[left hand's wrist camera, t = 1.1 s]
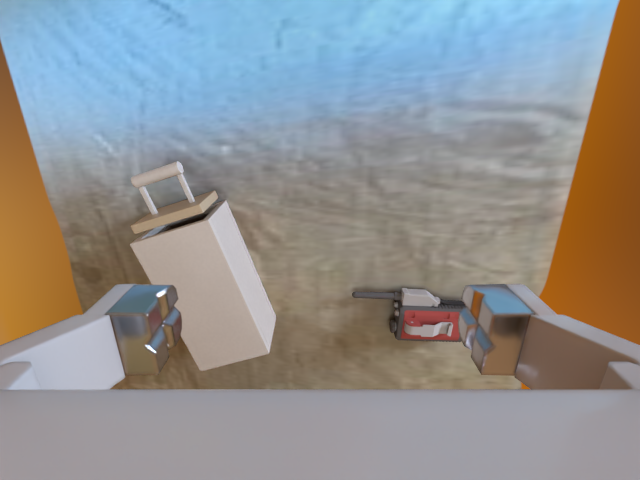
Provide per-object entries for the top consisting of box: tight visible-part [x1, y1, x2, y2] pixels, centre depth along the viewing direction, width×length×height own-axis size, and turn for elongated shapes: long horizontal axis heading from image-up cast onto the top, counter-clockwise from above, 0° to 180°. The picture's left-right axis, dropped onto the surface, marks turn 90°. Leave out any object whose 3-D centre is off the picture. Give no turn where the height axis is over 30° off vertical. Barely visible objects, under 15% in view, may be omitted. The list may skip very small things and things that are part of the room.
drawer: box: [131, 161, 218, 234], centre depth 50 cm, size 26×10×7 cm, turn 17°
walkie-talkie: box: [352, 288, 466, 342], centre depth 57 cm, size 9×4×20 cm
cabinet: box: [130, 200, 276, 371], centre depth 52 cm, size 22×11×9 cm, turn 17°
